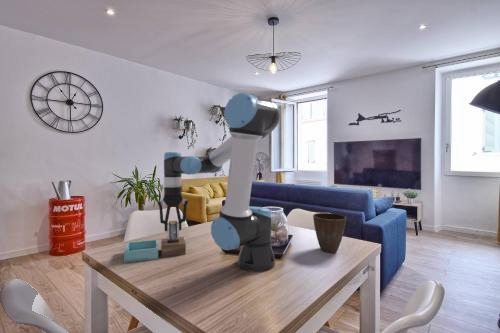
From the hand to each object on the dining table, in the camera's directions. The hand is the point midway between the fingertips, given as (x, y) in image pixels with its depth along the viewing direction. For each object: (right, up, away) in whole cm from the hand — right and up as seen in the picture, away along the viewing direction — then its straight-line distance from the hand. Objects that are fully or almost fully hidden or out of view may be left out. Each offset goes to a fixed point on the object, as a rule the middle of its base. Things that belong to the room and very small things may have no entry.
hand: (173, 237), depth 118 cm
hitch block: (0, -7, 0) cm, 7 cm away
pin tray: (-12, -7, -4) cm, 15 cm away
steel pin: (0, -7, 0) cm, 7 cm away
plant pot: (+72, -7, +4) cm, 72 cm away
